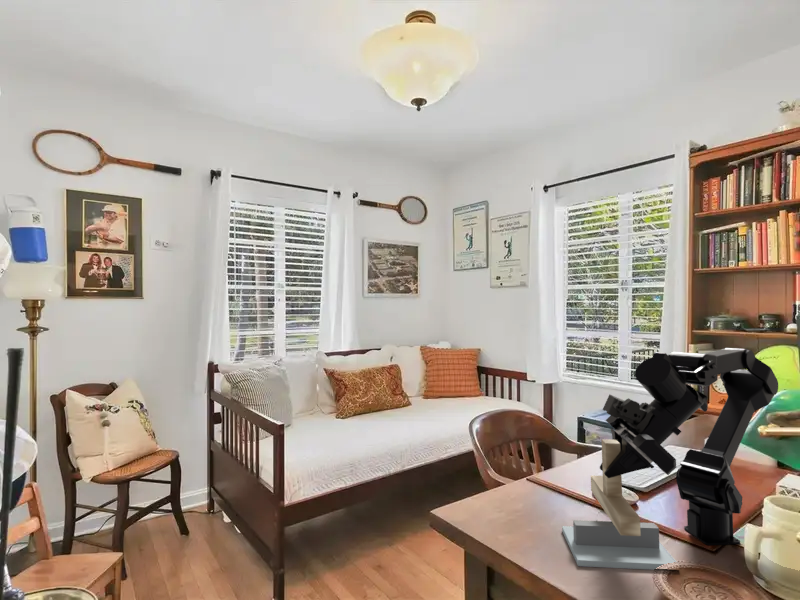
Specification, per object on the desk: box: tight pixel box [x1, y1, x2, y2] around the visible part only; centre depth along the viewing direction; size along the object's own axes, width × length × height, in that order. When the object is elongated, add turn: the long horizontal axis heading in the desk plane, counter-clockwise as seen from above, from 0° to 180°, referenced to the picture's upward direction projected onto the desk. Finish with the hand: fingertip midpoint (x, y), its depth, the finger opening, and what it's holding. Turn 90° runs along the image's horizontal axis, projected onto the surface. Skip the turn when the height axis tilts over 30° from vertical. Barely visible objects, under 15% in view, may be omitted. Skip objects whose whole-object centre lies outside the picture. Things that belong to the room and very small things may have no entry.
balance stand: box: [561, 519, 677, 571], centre depth 82 cm, size 16×12×4 cm
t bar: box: [590, 438, 641, 536], centre depth 83 cm, size 3×18×12 cm, turn 172°
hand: (603, 473), depth 83 cm, fingers closed on t bar, 2 cm apart
